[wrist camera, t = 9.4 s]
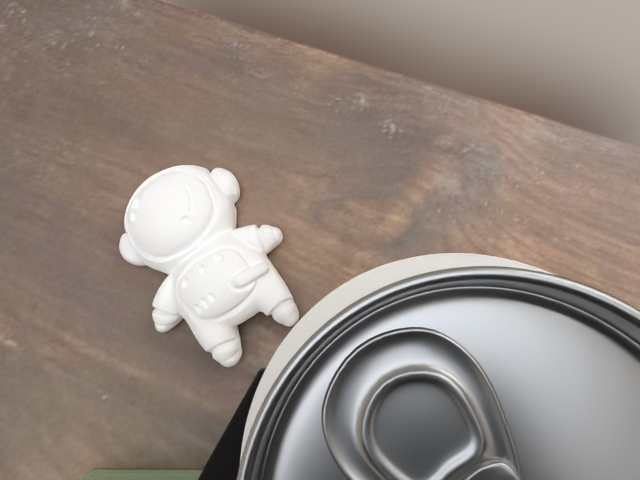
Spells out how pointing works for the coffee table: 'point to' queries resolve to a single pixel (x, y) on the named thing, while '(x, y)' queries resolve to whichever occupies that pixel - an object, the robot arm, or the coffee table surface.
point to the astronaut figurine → (204, 257)
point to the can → (452, 379)
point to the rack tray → (142, 475)
